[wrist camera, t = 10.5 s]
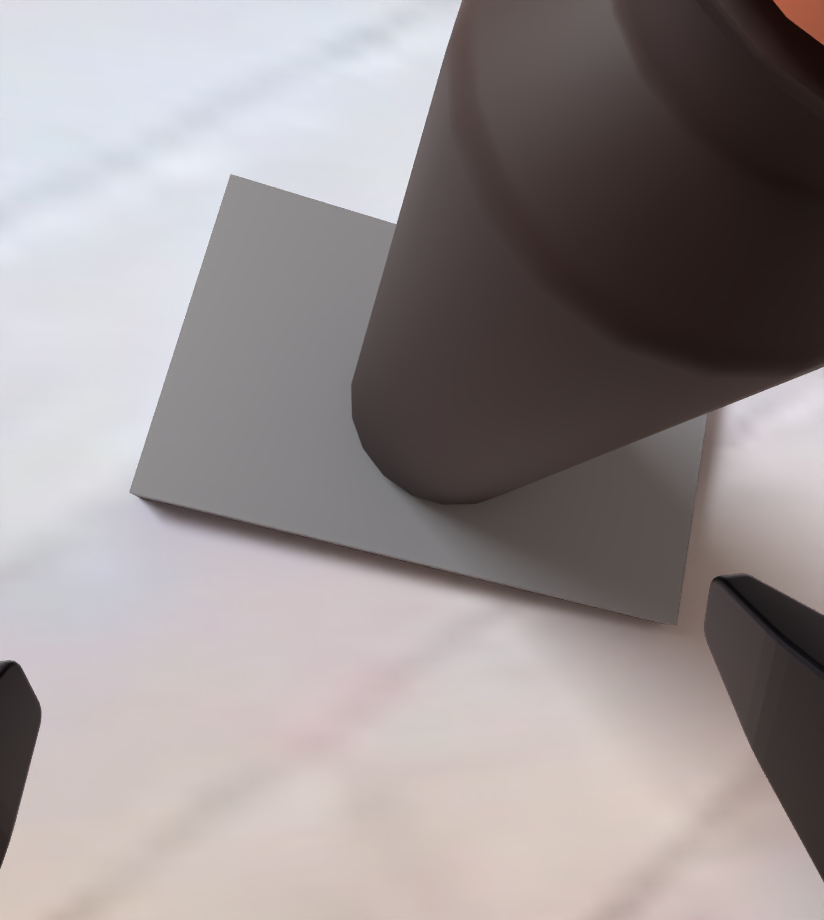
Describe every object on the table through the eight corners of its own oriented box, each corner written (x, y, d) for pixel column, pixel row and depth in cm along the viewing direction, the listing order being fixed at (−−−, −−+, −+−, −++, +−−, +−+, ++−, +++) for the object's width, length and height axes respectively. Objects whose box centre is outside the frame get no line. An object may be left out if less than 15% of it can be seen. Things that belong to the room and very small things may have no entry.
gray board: (660, 623, 24) (676, 625, 23) (136, 496, 22) (129, 492, 21) (704, 332, 26) (720, 322, 25) (233, 190, 24) (230, 174, 23)
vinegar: (540, 520, 23) (2078, 164, 3) (335, 491, 22) (687, -285, 2) (556, 326, 24) (1722, -791, 4) (363, 291, 23) (750, -1343, 3)
